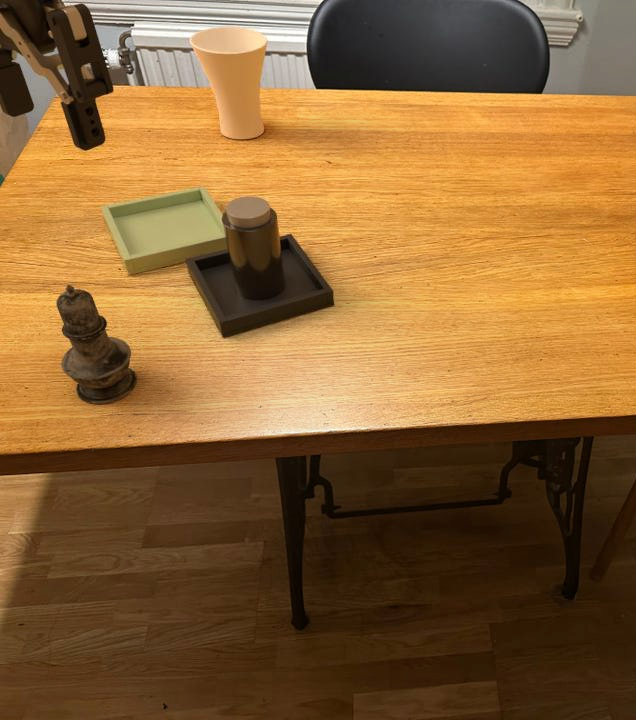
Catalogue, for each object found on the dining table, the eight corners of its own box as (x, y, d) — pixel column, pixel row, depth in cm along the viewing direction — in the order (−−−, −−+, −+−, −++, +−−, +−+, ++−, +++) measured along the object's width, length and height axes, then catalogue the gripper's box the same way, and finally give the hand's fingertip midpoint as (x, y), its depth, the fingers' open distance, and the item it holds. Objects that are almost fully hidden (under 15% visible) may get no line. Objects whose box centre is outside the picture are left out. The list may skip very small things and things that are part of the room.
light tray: (128, 275, 80) (124, 260, 78) (104, 220, 87) (100, 206, 85) (238, 249, 85) (235, 234, 84) (207, 199, 92) (204, 185, 91)
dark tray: (223, 338, 73) (219, 322, 72) (188, 273, 81) (185, 258, 79) (334, 305, 79) (333, 290, 78) (292, 247, 86) (291, 233, 85)
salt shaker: (71, 371, 68) (28, 271, 60) (136, 357, 70) (103, 259, 62) (74, 413, 64) (29, 312, 56) (143, 397, 66) (109, 298, 58)
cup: (210, 115, 110) (194, 25, 101) (278, 116, 112) (269, 27, 103) (203, 146, 103) (184, 52, 94) (276, 146, 105) (265, 54, 96)
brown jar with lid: (244, 305, 77) (229, 226, 70) (227, 278, 80) (212, 199, 73) (292, 292, 79) (283, 214, 72) (275, 265, 82) (264, 188, 75)
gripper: (-158, -132, 44) (-48, 117, 55) (-16, -86, 39) (72, 176, 50) (-38, -141, 49) (40, 89, 60) (100, -101, 44) (157, 141, 55)
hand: (55, 129), depth 55 cm, fingers open, 8 cm apart
